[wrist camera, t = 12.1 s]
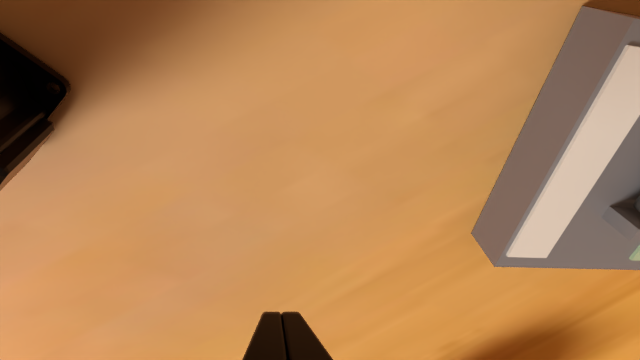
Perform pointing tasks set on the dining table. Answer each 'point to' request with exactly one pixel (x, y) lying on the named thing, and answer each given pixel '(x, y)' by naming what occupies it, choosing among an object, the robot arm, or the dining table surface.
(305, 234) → the dining table surface
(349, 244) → the dining table surface
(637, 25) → the switch base
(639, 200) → the handle
